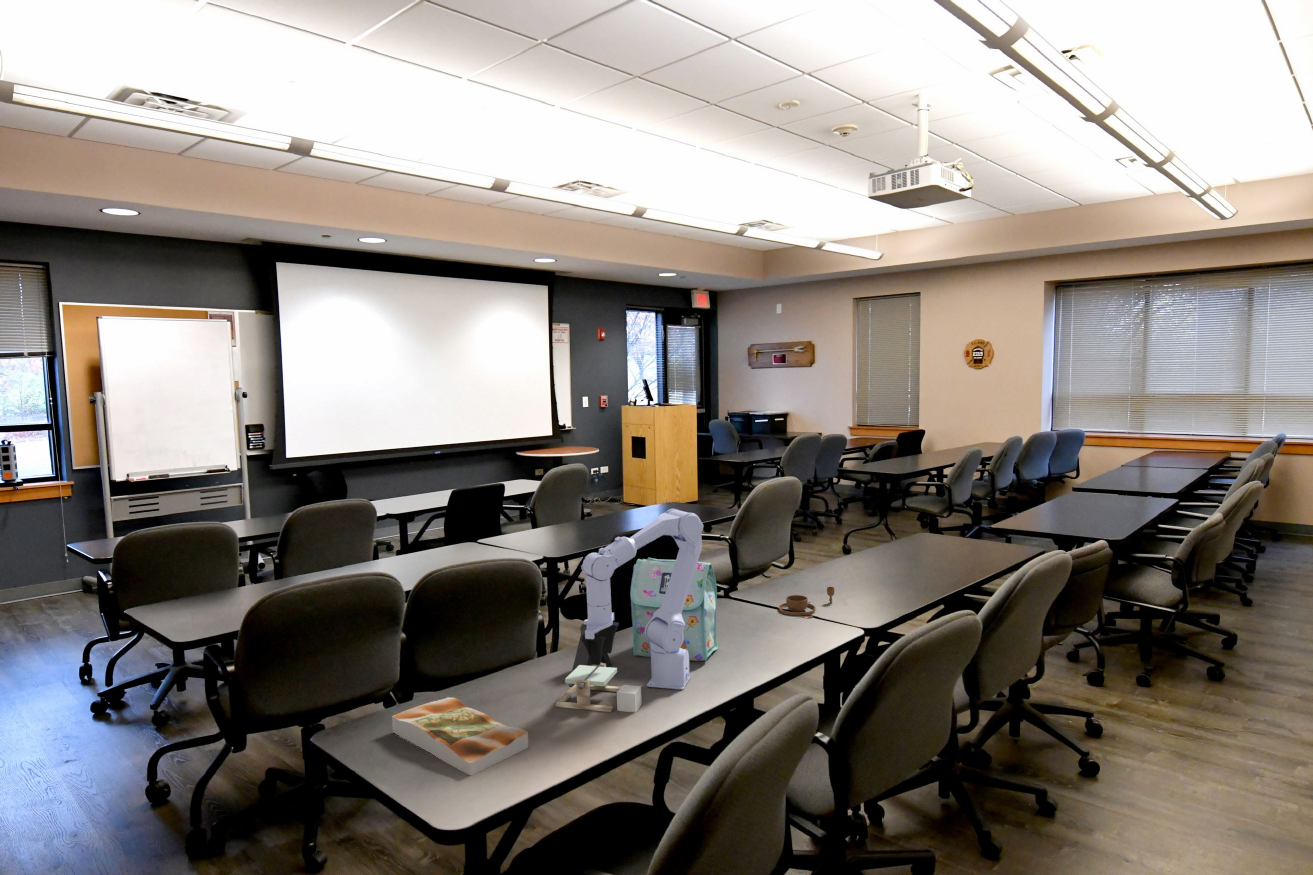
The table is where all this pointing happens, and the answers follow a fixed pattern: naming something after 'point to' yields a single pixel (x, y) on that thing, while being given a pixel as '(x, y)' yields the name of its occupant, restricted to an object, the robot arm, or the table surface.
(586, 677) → the trapdoor
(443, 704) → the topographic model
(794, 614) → the place setting
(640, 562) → the lunch bag
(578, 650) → the phone stand
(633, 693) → the light grey cube
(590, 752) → the table surface
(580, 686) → the trapdoor frame
